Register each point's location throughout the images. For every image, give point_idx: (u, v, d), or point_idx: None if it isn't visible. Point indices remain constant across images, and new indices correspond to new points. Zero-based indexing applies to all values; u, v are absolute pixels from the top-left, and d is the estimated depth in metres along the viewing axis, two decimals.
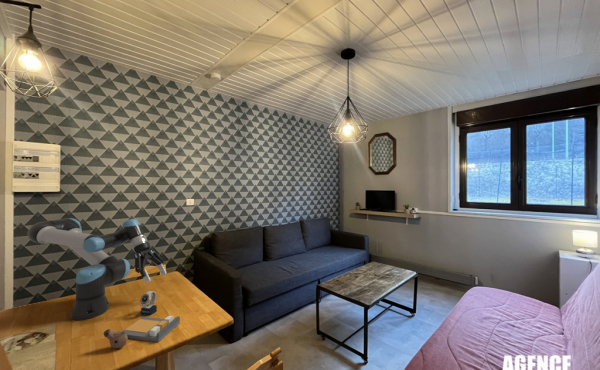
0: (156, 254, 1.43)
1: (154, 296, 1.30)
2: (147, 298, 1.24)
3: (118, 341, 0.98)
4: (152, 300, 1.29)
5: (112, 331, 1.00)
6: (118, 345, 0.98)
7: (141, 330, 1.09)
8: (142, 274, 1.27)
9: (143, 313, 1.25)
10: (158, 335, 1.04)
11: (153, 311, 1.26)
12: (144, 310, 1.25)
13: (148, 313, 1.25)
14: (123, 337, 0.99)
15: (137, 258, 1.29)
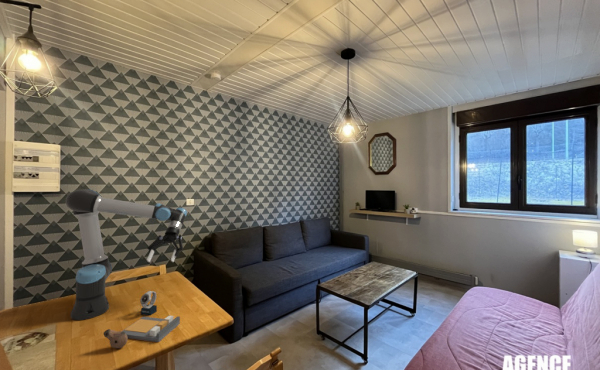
0: (158, 242, 1.47)
1: (154, 296, 1.30)
2: (147, 298, 1.24)
3: (118, 341, 0.98)
4: (152, 300, 1.30)
5: (112, 331, 1.00)
6: (118, 345, 0.98)
7: (141, 330, 1.09)
8: (177, 253, 1.40)
9: (143, 313, 1.25)
10: (158, 335, 1.04)
11: (153, 311, 1.26)
12: (144, 310, 1.25)
13: (148, 313, 1.25)
14: (123, 337, 0.99)
15: (181, 240, 1.47)
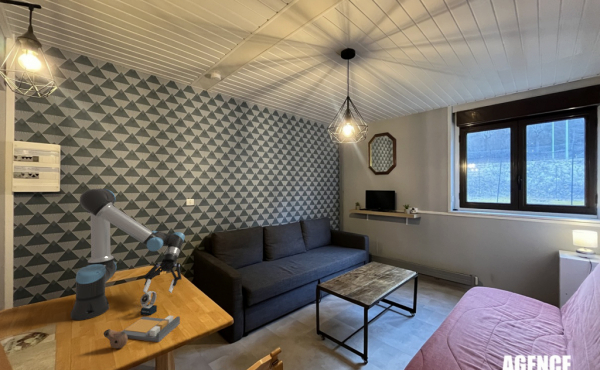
0: (155, 270, 1.41)
1: (154, 296, 1.30)
2: (147, 298, 1.24)
3: (118, 341, 0.98)
4: (152, 299, 1.30)
5: (112, 331, 1.00)
6: (118, 345, 0.98)
7: (141, 330, 1.09)
8: (175, 283, 1.35)
9: (143, 313, 1.25)
10: (158, 335, 1.04)
11: (153, 311, 1.26)
12: (144, 310, 1.25)
13: (148, 313, 1.25)
14: (123, 337, 0.99)
15: (179, 268, 1.42)
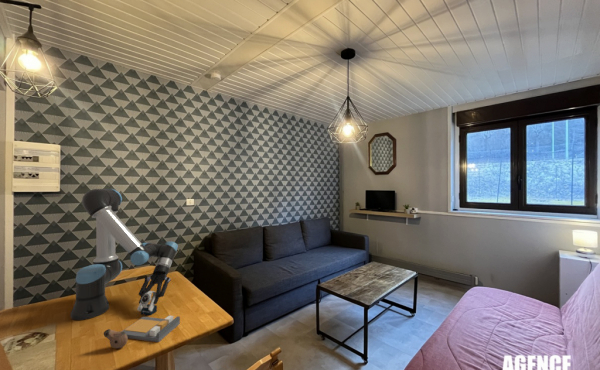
0: (147, 284, 1.33)
1: None
2: (147, 298, 1.24)
3: (118, 341, 0.98)
4: None
5: (112, 331, 1.00)
6: (118, 345, 0.98)
7: (141, 330, 1.09)
8: (157, 300, 1.27)
9: (143, 313, 1.25)
10: (158, 335, 1.04)
11: (153, 311, 1.26)
12: (144, 310, 1.25)
13: (148, 313, 1.25)
14: (123, 337, 0.99)
15: (167, 283, 1.34)
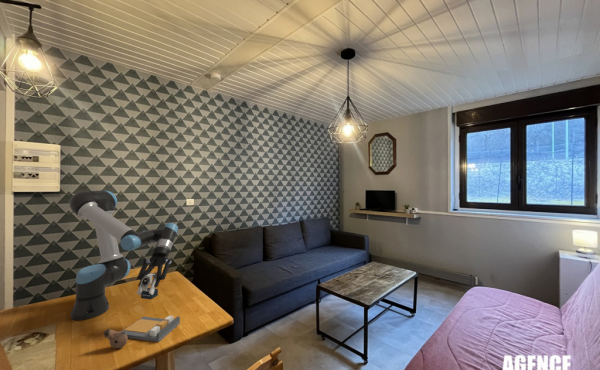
0: (146, 267, 1.23)
1: None
2: (148, 281, 1.14)
3: (118, 341, 0.98)
4: None
5: (112, 331, 1.00)
6: (118, 345, 0.98)
7: (141, 330, 1.09)
8: (158, 283, 1.17)
9: (143, 297, 1.16)
10: (158, 335, 1.04)
11: (154, 295, 1.17)
12: (144, 293, 1.15)
13: (149, 297, 1.15)
14: (123, 337, 0.99)
15: (168, 265, 1.24)
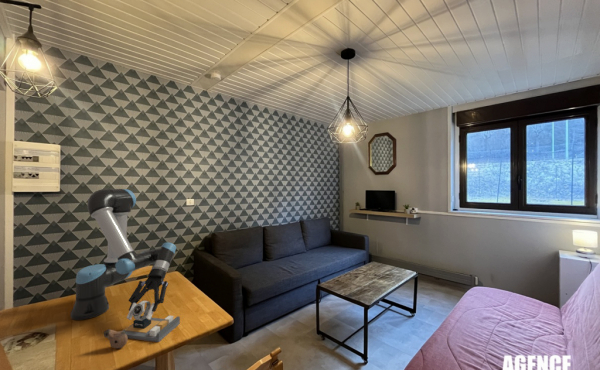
0: (140, 290, 1.20)
1: (148, 306, 1.16)
2: (140, 309, 1.10)
3: (118, 341, 0.98)
4: (146, 310, 1.15)
5: (112, 331, 1.00)
6: (118, 345, 0.98)
7: (141, 330, 1.09)
8: (156, 307, 1.13)
9: (136, 326, 1.11)
10: (158, 335, 1.04)
11: (147, 324, 1.12)
12: (137, 323, 1.11)
13: (141, 326, 1.10)
14: (123, 337, 0.99)
15: (165, 288, 1.20)
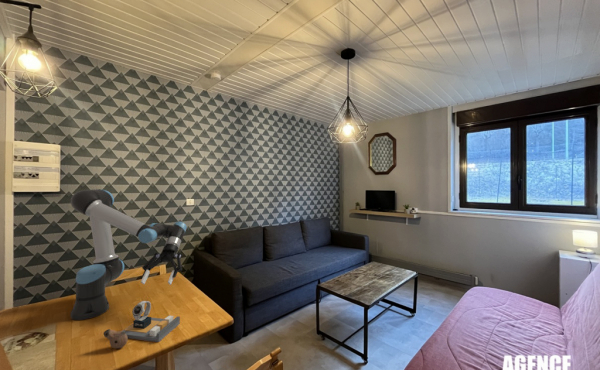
0: (154, 260, 1.33)
1: (148, 306, 1.16)
2: (140, 309, 1.10)
3: (118, 341, 0.98)
4: (146, 310, 1.15)
5: (112, 331, 1.00)
6: (118, 345, 0.98)
7: (141, 330, 1.09)
8: (175, 274, 1.27)
9: (136, 326, 1.11)
10: (158, 335, 1.04)
11: (147, 324, 1.12)
12: (137, 323, 1.11)
13: (141, 326, 1.10)
14: (123, 337, 0.99)
15: (180, 259, 1.33)
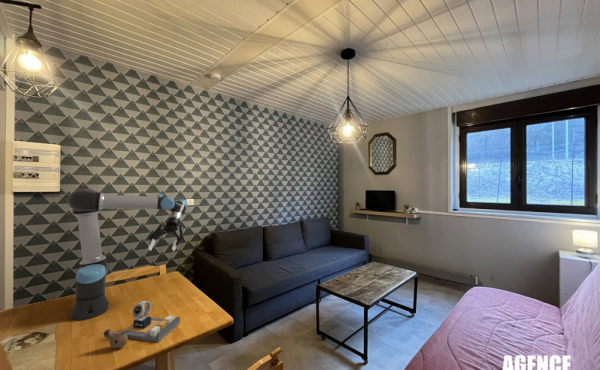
0: None
1: (148, 306, 1.16)
2: (140, 309, 1.10)
3: (118, 341, 0.98)
4: (146, 310, 1.15)
5: (112, 331, 1.00)
6: (118, 345, 0.98)
7: (141, 330, 1.09)
8: (178, 243, 1.44)
9: (136, 326, 1.11)
10: (158, 335, 1.04)
11: (147, 324, 1.12)
12: (137, 323, 1.11)
13: (141, 326, 1.10)
14: (123, 337, 0.99)
15: None
